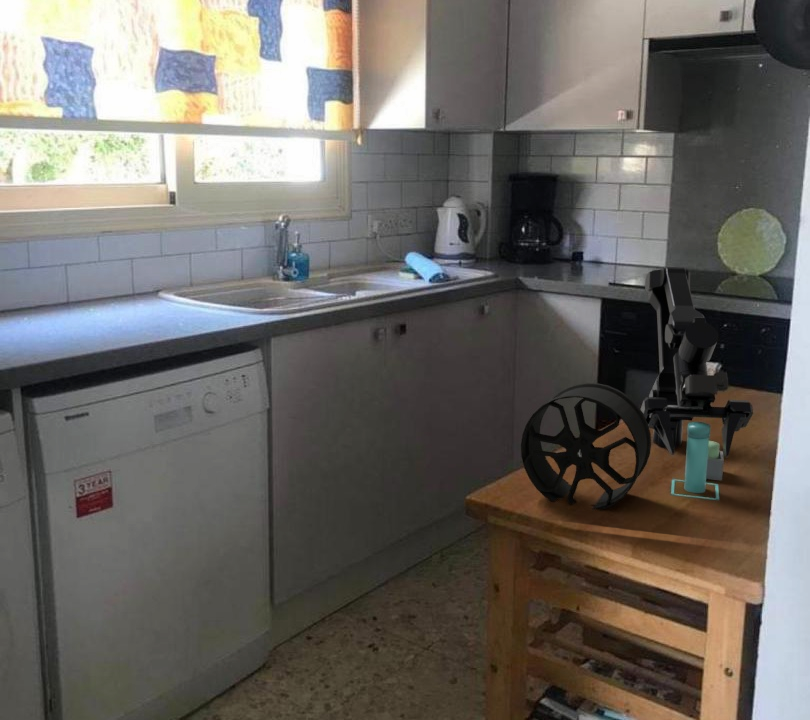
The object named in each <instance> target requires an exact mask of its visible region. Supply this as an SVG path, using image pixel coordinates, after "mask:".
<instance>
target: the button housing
mask: <svg viewBox="0 0 810 720" xmlns="http://www.w3.org/2000/svg"><path fill="white" fill-rule="evenodd" d="M724 458H725V456H724V451H723V450H719V458H718V459H714V458H708V460H707V474H706V480H713V481H723V475H724V474H723V473H724V472H723V471H724V464H725V463H724V462H725V461H724Z"/></svg>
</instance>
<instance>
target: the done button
mask: <svg viewBox="0 0 810 720" xmlns="http://www.w3.org/2000/svg"><path fill="white" fill-rule="evenodd" d="M720 446H721V444H720V443H719V442H716V441H712V440H709V446H708V458H714V459H718V458H719V451H720V448H721V447H720Z"/></svg>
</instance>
